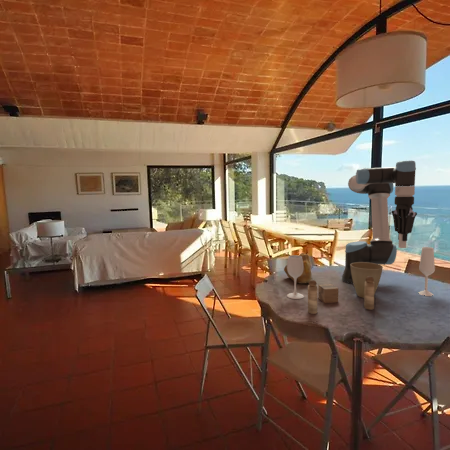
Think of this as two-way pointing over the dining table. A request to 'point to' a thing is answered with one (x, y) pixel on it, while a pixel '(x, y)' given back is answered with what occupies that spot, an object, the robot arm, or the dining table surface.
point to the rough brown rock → (306, 273)
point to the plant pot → (365, 275)
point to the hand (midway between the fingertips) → (402, 247)
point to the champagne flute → (427, 266)
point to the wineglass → (295, 273)
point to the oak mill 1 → (312, 297)
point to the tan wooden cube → (328, 293)
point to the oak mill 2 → (369, 293)
